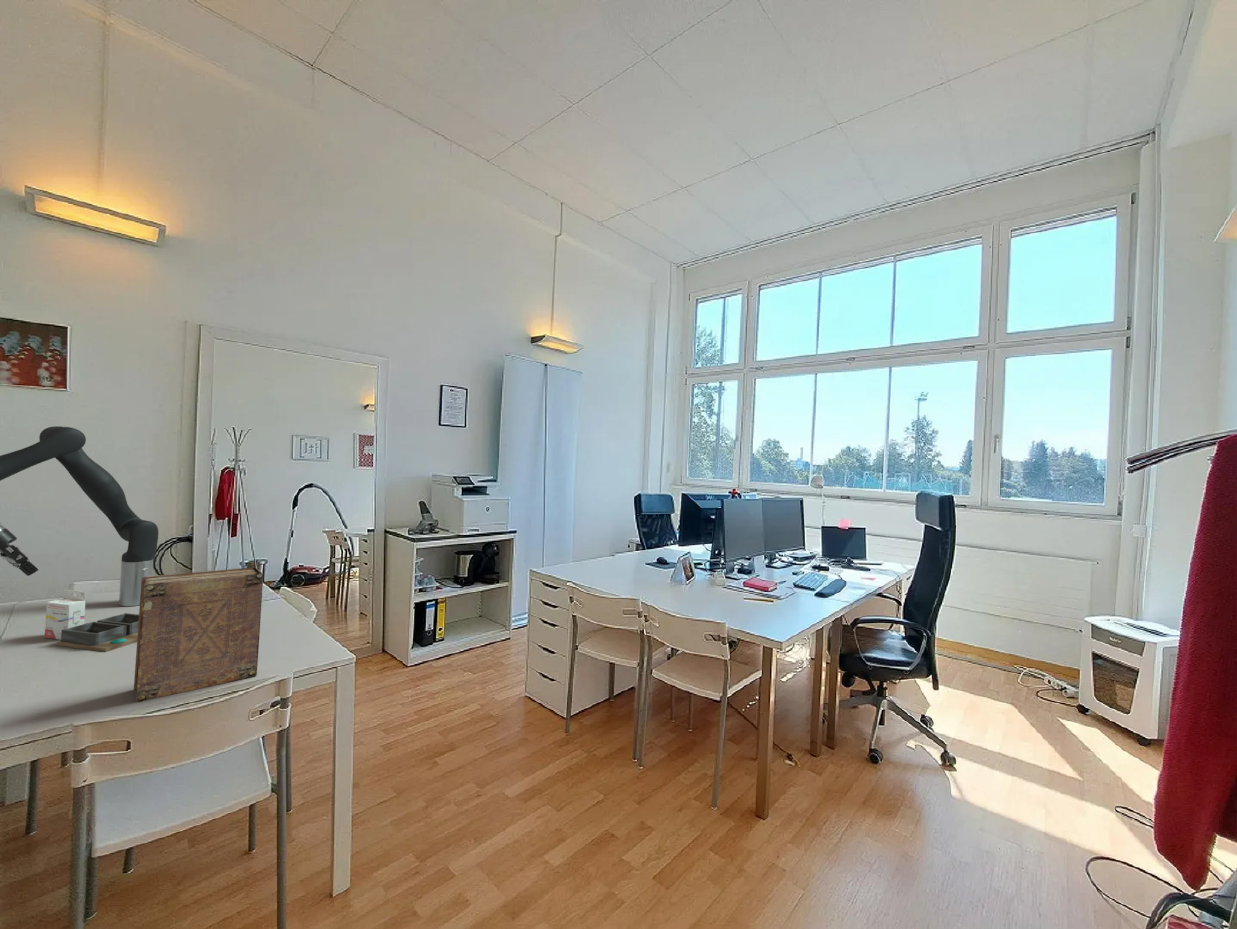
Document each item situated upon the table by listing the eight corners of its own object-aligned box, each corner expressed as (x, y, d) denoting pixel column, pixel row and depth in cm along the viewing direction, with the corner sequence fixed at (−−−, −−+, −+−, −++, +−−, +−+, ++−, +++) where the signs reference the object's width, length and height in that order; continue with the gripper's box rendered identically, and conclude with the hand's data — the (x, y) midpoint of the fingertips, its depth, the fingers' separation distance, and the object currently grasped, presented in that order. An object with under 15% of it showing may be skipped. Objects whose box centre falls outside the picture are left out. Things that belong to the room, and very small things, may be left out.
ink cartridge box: (42, 638, 160) (45, 592, 160) (61, 633, 165) (64, 588, 165) (66, 640, 159) (69, 595, 159) (84, 635, 164) (87, 591, 164)
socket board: (127, 625, 175) (128, 612, 175) (172, 630, 173) (172, 617, 173) (56, 645, 155) (57, 631, 155) (106, 651, 153) (107, 637, 153)
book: (135, 703, 125) (142, 584, 125) (133, 689, 132) (140, 577, 132) (257, 676, 144) (263, 573, 143) (250, 665, 150) (256, 566, 150)
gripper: (6, 525, 156) (50, 564, 162) (3, 530, 164) (45, 566, 170) (-26, 540, 150) (20, 580, 156) (-28, 544, 159) (16, 582, 164)
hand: (33, 573), depth 163 cm, fingers open, 8 cm apart
